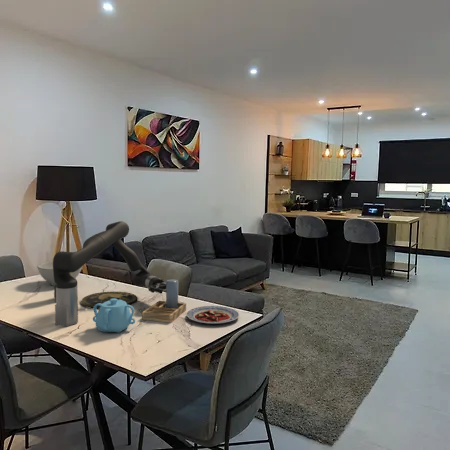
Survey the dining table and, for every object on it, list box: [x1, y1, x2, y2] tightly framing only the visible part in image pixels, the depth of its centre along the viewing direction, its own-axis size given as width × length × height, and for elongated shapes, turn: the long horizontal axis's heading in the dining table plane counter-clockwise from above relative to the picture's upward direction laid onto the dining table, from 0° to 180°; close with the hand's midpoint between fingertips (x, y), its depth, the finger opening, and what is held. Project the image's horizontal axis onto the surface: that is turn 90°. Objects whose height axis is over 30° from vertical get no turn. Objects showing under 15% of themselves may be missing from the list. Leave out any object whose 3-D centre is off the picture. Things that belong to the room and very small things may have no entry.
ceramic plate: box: [186, 305, 240, 325], centre depth 200 cm, size 26×26×3 cm
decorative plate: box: [80, 291, 138, 310], centre depth 225 cm, size 30×2×30 cm
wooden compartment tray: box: [141, 300, 187, 324], centre depth 203 cm, size 20×15×4 cm
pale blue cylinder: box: [165, 279, 179, 309], centre depth 207 cm, size 6×6×15 cm
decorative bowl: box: [36, 260, 83, 286], centre depth 260 cm, size 27×27×12 cm
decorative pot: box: [92, 298, 136, 333], centre depth 182 cm, size 16×16×14 cm
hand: (169, 290), depth 209 cm, fingers open, 8 cm apart
